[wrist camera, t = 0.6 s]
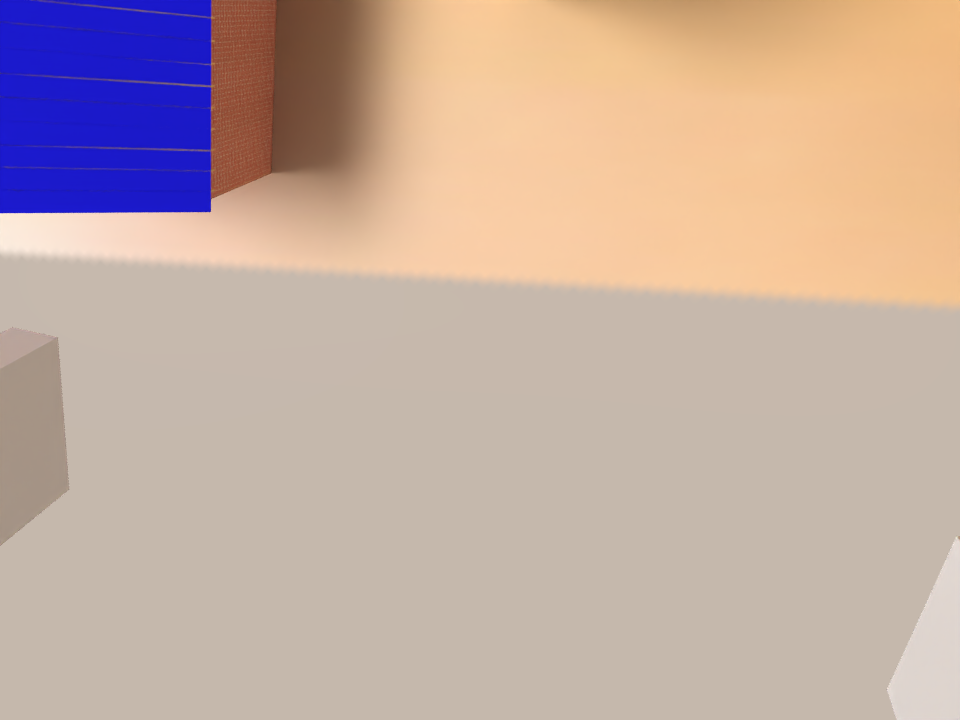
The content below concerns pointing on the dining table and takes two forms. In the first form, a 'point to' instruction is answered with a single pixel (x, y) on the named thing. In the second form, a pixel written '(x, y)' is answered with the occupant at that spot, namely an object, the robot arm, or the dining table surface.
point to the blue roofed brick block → (133, 103)
